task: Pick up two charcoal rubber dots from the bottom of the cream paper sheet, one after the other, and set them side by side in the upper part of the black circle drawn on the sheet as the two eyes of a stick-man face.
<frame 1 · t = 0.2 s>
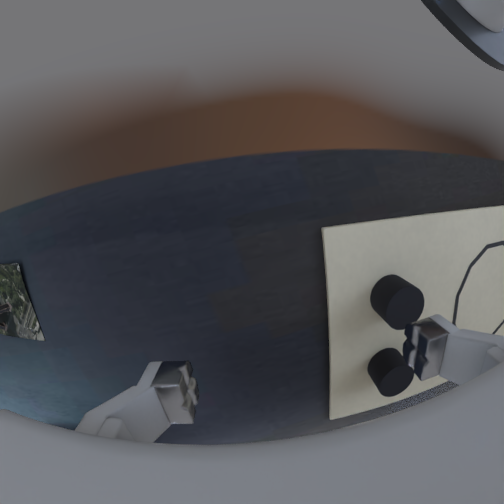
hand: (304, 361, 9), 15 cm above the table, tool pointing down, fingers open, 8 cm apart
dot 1: (384, 363, 25), point 1 cm above the table, touching sheet
sheet: (450, 309, 25), on the table
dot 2: (388, 294, 24), point 1 cm above the table, touching sheet
eiffel tower figurine: (1, 300, 25), on the table
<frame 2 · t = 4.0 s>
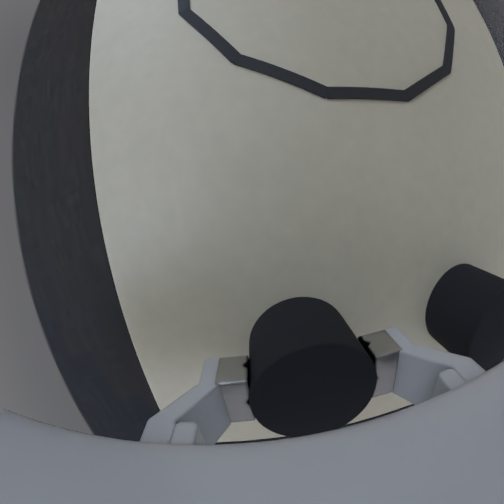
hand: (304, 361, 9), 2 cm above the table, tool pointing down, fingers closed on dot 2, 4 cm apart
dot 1: (455, 303, 11), point 1 cm above the table, touching sheet
sheet: (365, 107, 9), on the table
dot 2: (298, 341, 11), point 1 cm above the table, touching gripper, sheet
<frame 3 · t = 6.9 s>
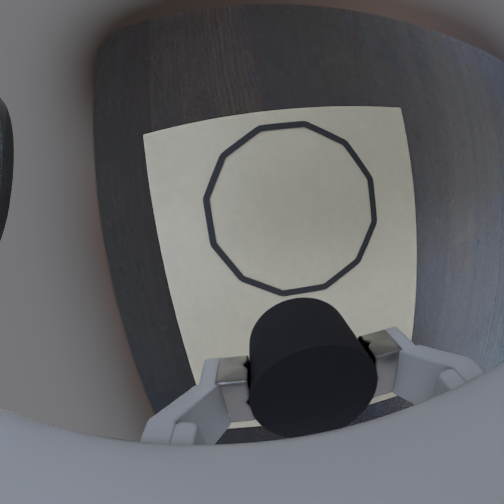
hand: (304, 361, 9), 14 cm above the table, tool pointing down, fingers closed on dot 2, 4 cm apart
sheet: (302, 292, 23), on the table
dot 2: (299, 342, 11), point 12 cm above the table, touching gripper
when the fingers open (2 cm above the table, at t = 10.0 s): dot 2 stays where it is, resting on sheet.
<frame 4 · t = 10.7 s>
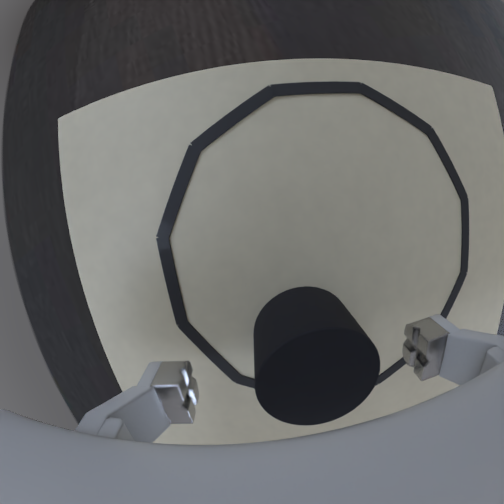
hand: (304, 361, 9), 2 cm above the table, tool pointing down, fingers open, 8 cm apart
sheet: (340, 387, 12), on the table
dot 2: (302, 331, 11), point 1 cm above the table, touching sheet
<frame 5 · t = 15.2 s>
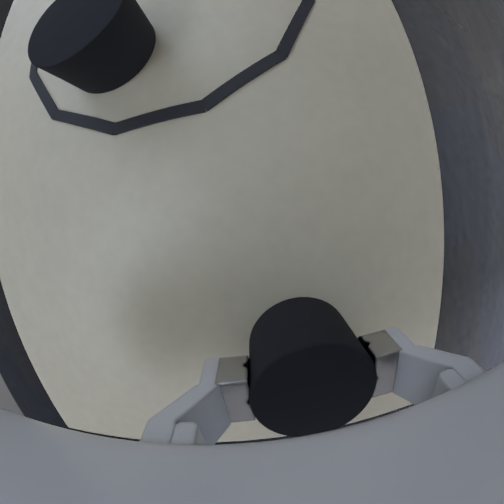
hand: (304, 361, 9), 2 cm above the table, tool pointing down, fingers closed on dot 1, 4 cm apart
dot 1: (298, 341, 11), point 1 cm above the table, touching gripper, sheet
sheet: (163, 130, 10), on the table
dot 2: (112, 52, 8), point 1 cm above the table, touching sheet
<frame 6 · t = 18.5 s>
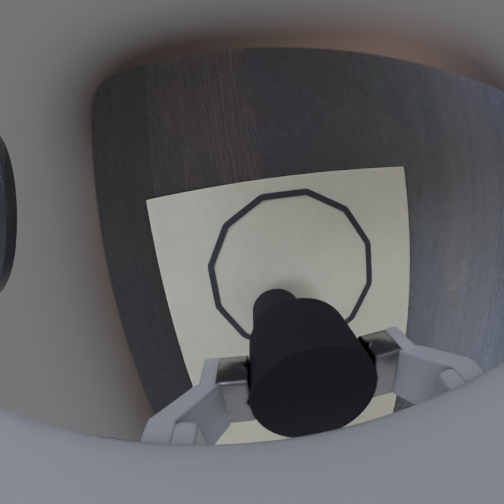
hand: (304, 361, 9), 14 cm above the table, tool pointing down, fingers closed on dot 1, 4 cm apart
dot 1: (299, 342, 11), point 13 cm above the table, touching gripper
sheet: (300, 344, 25), on the table
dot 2: (276, 310, 23), point 1 cm above the table, touching sheet
when the fingers open (2 cm above the table, at t = 21.8 s): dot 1 stays where it is, resting on sheet.
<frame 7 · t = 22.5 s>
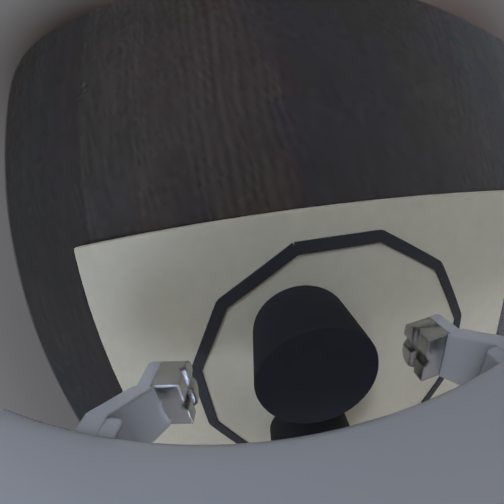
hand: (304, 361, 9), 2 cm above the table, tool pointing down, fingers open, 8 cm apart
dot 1: (301, 330, 11), point 1 cm above the table, touching sheet
sheet: (336, 450, 14), on the table
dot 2: (308, 424, 12), point 1 cm above the table, touching sheet
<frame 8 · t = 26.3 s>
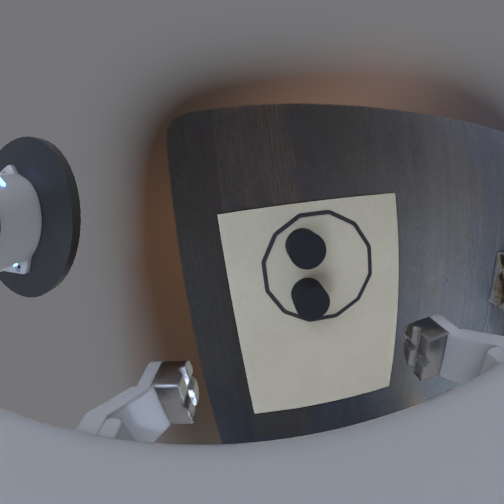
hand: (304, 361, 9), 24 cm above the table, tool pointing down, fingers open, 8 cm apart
coffee box: (500, 276, 35), on the table
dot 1: (302, 245, 32), point 1 cm above the table, touching sheet
sheet: (322, 318, 35), on the table
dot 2: (307, 293, 34), point 1 cm above the table, touching sheet
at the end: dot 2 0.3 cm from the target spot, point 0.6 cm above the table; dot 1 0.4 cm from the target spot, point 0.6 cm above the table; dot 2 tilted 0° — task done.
